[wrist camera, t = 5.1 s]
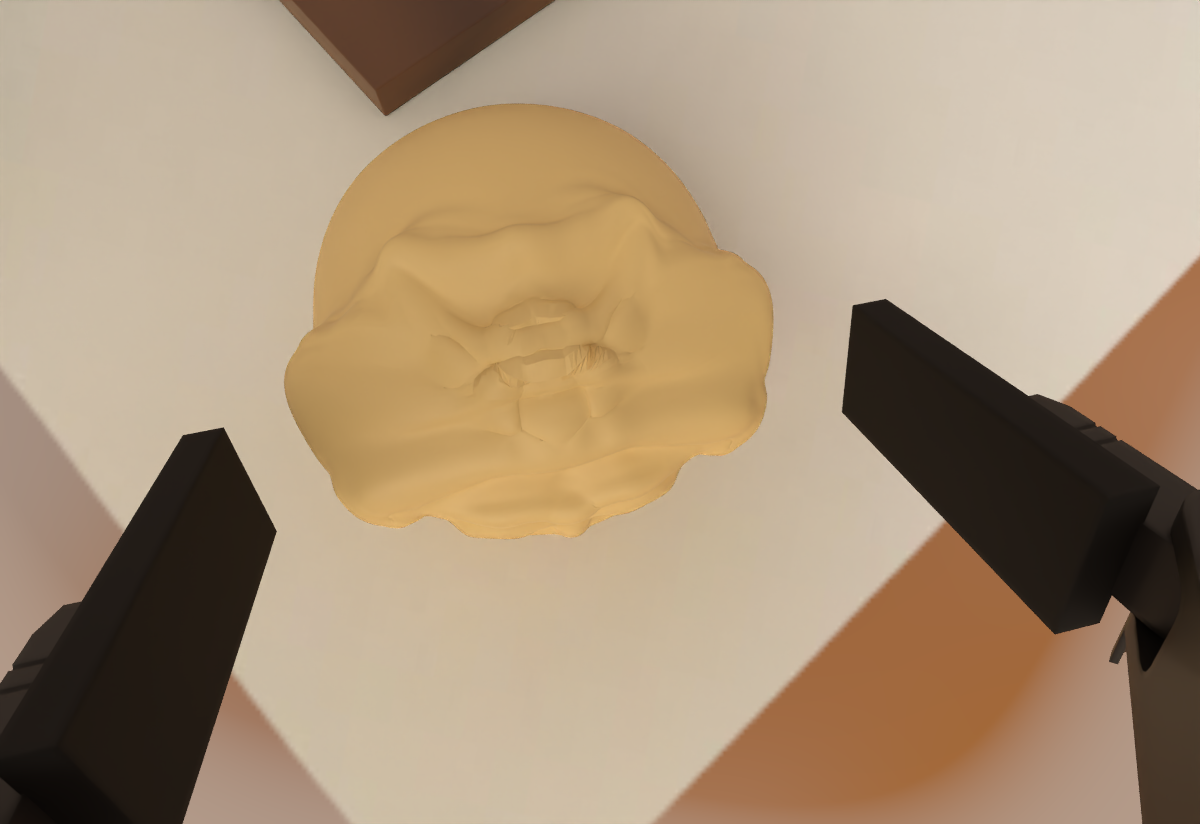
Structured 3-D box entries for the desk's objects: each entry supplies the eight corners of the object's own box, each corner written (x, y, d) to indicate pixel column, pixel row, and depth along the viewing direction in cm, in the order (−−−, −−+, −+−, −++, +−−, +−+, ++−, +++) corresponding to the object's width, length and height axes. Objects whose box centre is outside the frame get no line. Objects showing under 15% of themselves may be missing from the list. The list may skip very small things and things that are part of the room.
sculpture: (402, 582, 22) (260, 599, 12) (349, 254, 24) (190, 21, 14) (731, 505, 23) (874, 457, 13) (649, 200, 26) (711, -52, 15)
